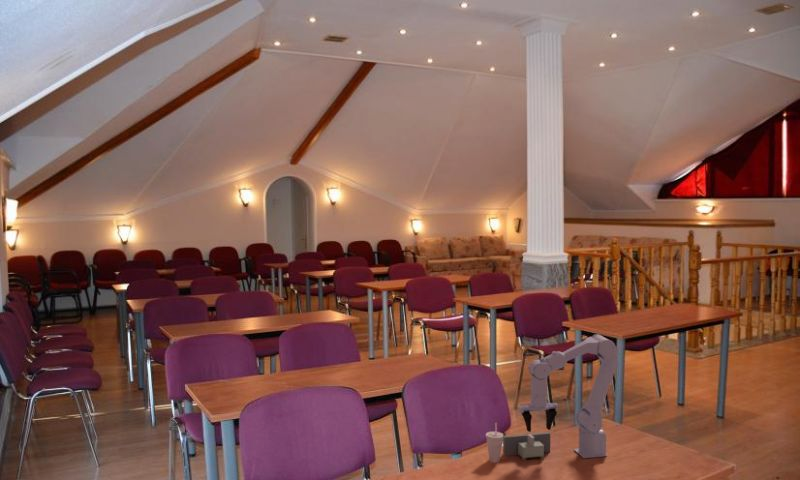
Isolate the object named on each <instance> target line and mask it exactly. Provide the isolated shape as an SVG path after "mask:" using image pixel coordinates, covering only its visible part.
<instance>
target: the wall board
mask: <svg viewBox="0 0 800 480" xmlns="http://www.w3.org/2000/svg"><path fill="white" fill-rule="evenodd" d="M528 434H529V433H523V434H521V433H520V434H513V435H503V439H502V444H503V445H502V447H503V448H502V455H503V456H504V457H507V456H508V457H509V456H518V442H526V441H528ZM530 434H531V435H532V436H533V437H534V441H537V440H539V441H540V442H541V443H542V444H543V445H544V453H549V452H551V432H549V431H544V432H534V433H530ZM520 458H521V459H522V456H520Z"/></svg>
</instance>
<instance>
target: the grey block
mask: <svg viewBox="0 0 800 480" xmlns="http://www.w3.org/2000/svg"><path fill="white" fill-rule="evenodd" d="M527 434H528V441H526V442H518V455H517V456H518V457H521V456H522V458H521V460H522V461H523V462H525V461H527V459H529V458H539V459H540V460H543V459H544V457H545V452H544V445H543V444H542V443H541V442H540V441H539V440H537V441H534V437H533V436H532V435H531V434H532V433H527Z"/></svg>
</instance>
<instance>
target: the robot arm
mask: <svg viewBox="0 0 800 480" xmlns="http://www.w3.org/2000/svg"><path fill="white" fill-rule="evenodd" d="M617 351H618V347H617V346H616V344H615V343H614V341H613V340H610V339H608V338H606V337H604V336H603V335H602V334H598V333H597V334H593V335H592V336H589V337H586V338H585V339H584V340H583V341H581V342H579V343H577V344H576V345H574V346H572V347H569V348H568V349H566V350H564V351H563V352H562V351H559V350H558V351H555V350H553V351H551V354H549V355H547V356H545V357H540V358H539V359H534V360H532V361H531V362H530V363H529V366H528V367H527V369H528V372H529V373H530V403H529V404H525V405H519V406H518V411H519V413H520V414H521V416H522V418H523V420H524V423H525V426H526V431H527V433H528V432H529V433H530V432H532V417H533V415H532V414H531V412H542V411H543V412H544V411H545V420H546V421H545V422H546V423H545V427H546V429H547V430H548V431H550V430H552V429H551V428H552V424H553V422H554V419H555V417H556V416H557V414H558V410H559V404H558V403H557V402H548V397H547V395H548V394H547V392H548V389H547V387H548V385H547V384H548V381H547V380H548V379H547V378H548V377H549V375H550V373H552V372H555V371H556V370H558V369H561V368H563V367H565V366H566V365H567V362H568V361H570V360H573V359H576V358H577V357H578V358H579V357H580V356H583V355H585V354H592V355H597V358H598V359H599V361H600V365H599V368H598V371H597V374H596V376H595V380H594V383H593V385H592V388H591V390H590V394H589V396H588V398H587V401H586V402H585V403H583V404H582V407H581V408H580V410H579V411H577V413H576V415H575V417H576V421H577V423H578V426H579V427H578V448H574V449H573V451H575V452H576V454H578V455H580V457H581V458H583V459H589V458H590V459H591V458H600V457H601V458H602V457H608V455H607V435H606V433H605V431H604V430H603V429H602V428H603V418H604V413H603V409H602V407H603V406H604V403H605V399H606V397H607V394H608V392H609V389H610V387H611V386H610V385H611V383H612V380H613V378H614V374H615V372H616V370H617V366H618V363H619V362H618V361H619V360H618V355H617V353H618V352H617Z"/></svg>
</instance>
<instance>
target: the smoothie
mask: <svg viewBox="0 0 800 480" xmlns="http://www.w3.org/2000/svg"><path fill="white" fill-rule="evenodd" d="M494 424H495V425H494V427H495V428H494V431H487V432H486V433H485V438H486V445H487V453H488V460H489V462H491V463H495V464H496V463H499V462H500V461H501V460H500V459H501V452H502V446H503V445H502V444H503V436H504V434H503V433H502V432H500V431H498V423H497V422H495V423H494Z"/></svg>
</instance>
